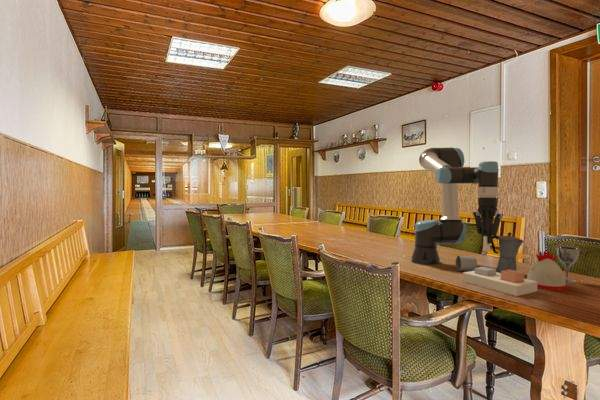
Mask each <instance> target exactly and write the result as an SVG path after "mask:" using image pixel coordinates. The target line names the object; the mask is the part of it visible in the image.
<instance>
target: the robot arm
mask: <svg viewBox="0 0 600 400" xmlns="http://www.w3.org/2000/svg"><path fill="white" fill-rule="evenodd" d="M418 162H419V164H420V166H421V167H422V168H423V169H424V170H429V171H430V172H432V174H434V175H435V180H436V182H437V184H441V217H440V219H439V222H438V220H436V219H427V220H426V219H425V220H424V219H423V220H419V221H417V222H416V223H415V225H414V226H415V227H414V249H413V252H412V255H411V262H412V263H415V264H419V265H430V266H431V265H439V264H440V263H441V258H440V256H439V251H438V249H437V248H438V247H437V245H438V244H452V245H453V244H461V243H463V242H464V241H465V239H466V236H467V225H466V223H465V222H463V219H462V218H461V217H460V213H459V184H468V185H469V184H470V185H471V184H473V185H474V184H475V185H478V191H477V195H478V198H477V205H478V208H477V210H476V211H473V212H472V215H473V217H474V221H475V227H476V231H477V233H478V234H479V235H481V242H482V251H484V252H491V245H492V244H491V243H492V236H493V235H497V236H498V231H499V227H500V224H501V220H502V218H503V216H504V214H503V213H500V212H499V211H498V210H499V209H498V195H499V193H498V192H499V191H498V189H499V186H498V185H499V164H498V163H499V162H497V161H491V160H490V161H486V160H485V161H480V162H479V163H478V167H477V166H474V167H469V166H466V167H464V165H465V155H464V152H463V150H462V149H461V148H459V147H452V146H451V147H430V148H427V149H425V150H423V151H422V152H421V153H420V156H419V158H418Z"/></svg>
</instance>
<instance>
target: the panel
mask: <svg viewBox="0 0 600 400" xmlns="http://www.w3.org/2000/svg"><path fill="white" fill-rule="evenodd" d="M462 282H463V283H467V284H470V285H474V286H477V287H481V288H485V289H488V290H492V291H496V292H499V293H504V294H507V295H510V296H515V297H519V296H522V295H523V296H524V295H528V294H532V293H535V292H538V288H537V281H533V280H528V279H527V278H524V281H522V282H517V283H513V282H509V281H505V280H501V273H499V272H497V271H496V275H492V276H484V275H479V274H475V270H474V271H463V272H462Z"/></svg>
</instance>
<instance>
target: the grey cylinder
mask: <svg viewBox="0 0 600 400" xmlns="http://www.w3.org/2000/svg"><path fill="white" fill-rule="evenodd" d="M477 266H478V262H477V259H476V258H475V257H474V256H468V255H457V256H456V258H455V267H456V270H457V271H458V272H469V271H475V268H478V267H477Z"/></svg>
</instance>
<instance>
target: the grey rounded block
mask: <svg viewBox="0 0 600 400" xmlns="http://www.w3.org/2000/svg"><path fill="white" fill-rule="evenodd" d="M496 270H497V268H496V269H495V268H491V267H485V266H480V267H477V268H475V270H474V271H475V274H479V275H484V276H492V275H496V272H497V271H496Z"/></svg>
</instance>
